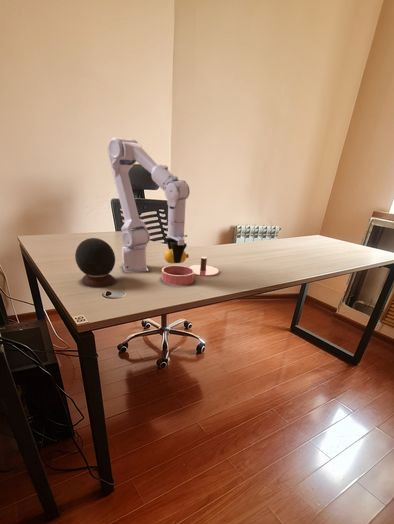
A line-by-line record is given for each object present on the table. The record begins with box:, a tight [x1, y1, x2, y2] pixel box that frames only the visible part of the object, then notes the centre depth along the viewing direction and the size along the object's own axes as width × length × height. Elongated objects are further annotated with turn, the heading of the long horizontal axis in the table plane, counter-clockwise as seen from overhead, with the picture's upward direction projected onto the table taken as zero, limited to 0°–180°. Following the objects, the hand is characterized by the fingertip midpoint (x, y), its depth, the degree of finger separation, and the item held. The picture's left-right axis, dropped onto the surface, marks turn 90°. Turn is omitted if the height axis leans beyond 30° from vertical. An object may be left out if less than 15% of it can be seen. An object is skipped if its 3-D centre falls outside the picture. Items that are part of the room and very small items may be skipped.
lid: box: [188, 256, 220, 277], centre depth 125 cm, size 13×13×6 cm
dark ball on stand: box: [74, 237, 116, 288], centre depth 106 cm, size 13×13×15 cm
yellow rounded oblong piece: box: [163, 248, 190, 264], centre depth 110 cm, size 9×5×5 cm, turn 108°
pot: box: [161, 264, 195, 286], centre depth 115 cm, size 12×12×4 cm
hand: (175, 260), depth 111 cm, fingers closed on yellow rounded oblong piece, 5 cm apart
